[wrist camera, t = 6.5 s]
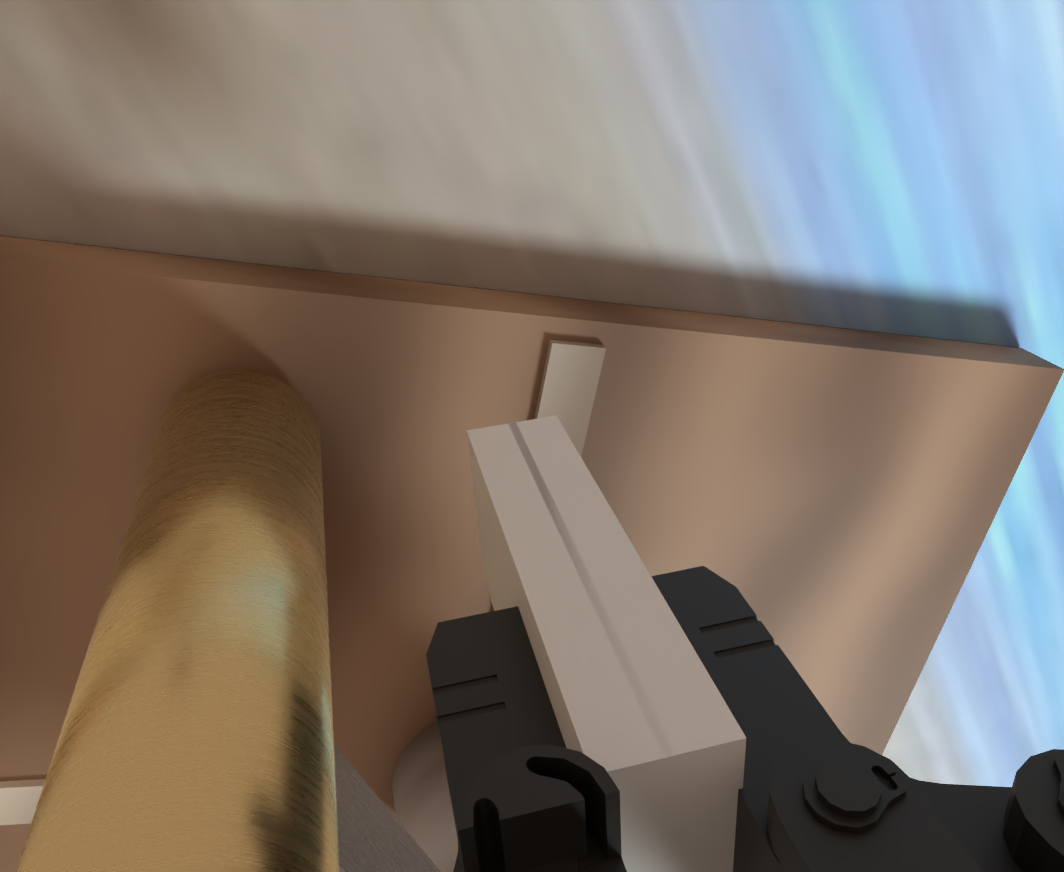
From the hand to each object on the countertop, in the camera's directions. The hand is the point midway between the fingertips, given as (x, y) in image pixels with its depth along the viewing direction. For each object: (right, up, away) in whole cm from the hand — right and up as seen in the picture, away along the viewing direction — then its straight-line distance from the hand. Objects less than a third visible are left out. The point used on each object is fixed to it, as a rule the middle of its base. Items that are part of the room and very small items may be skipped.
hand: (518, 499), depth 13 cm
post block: (-1, -8, +11) cm, 13 cm away
